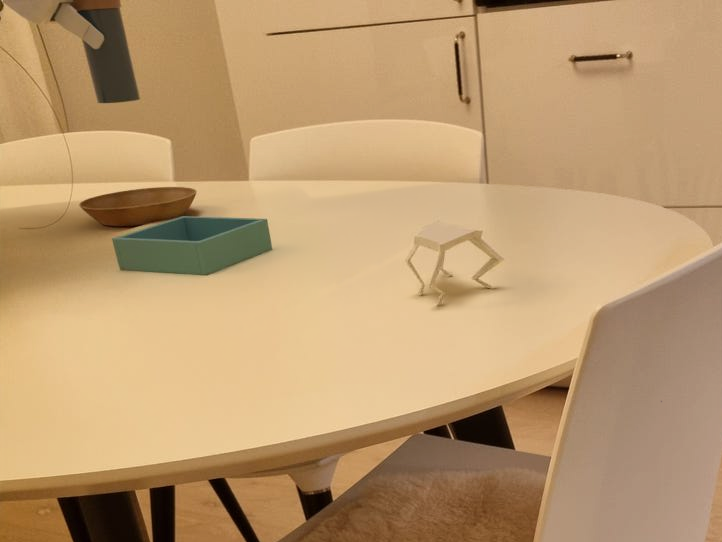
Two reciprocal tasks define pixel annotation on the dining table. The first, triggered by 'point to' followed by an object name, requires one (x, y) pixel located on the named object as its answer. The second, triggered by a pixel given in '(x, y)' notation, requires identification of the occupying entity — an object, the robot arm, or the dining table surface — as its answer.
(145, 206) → the plant saucer
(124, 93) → the jar
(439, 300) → the cream legged block
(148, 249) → the green shallow square box
